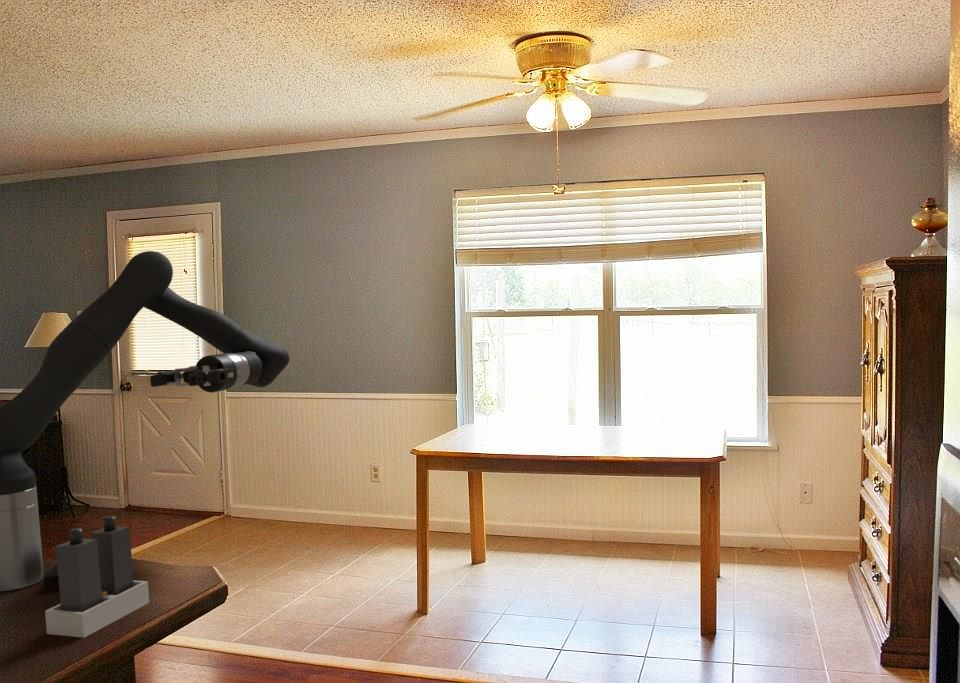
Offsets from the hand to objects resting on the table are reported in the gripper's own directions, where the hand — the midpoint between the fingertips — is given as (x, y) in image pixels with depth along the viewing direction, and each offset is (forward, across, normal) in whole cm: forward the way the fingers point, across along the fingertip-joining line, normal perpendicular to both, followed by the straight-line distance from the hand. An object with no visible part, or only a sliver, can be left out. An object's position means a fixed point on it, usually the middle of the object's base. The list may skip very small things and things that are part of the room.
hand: (170, 380), depth 154 cm
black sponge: (+9, -15, +36) cm, 40 cm away
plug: (+23, +5, +34) cm, 42 cm away
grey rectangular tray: (+27, +5, +35) cm, 44 cm away
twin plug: (+30, +5, +34) cm, 46 cm away
